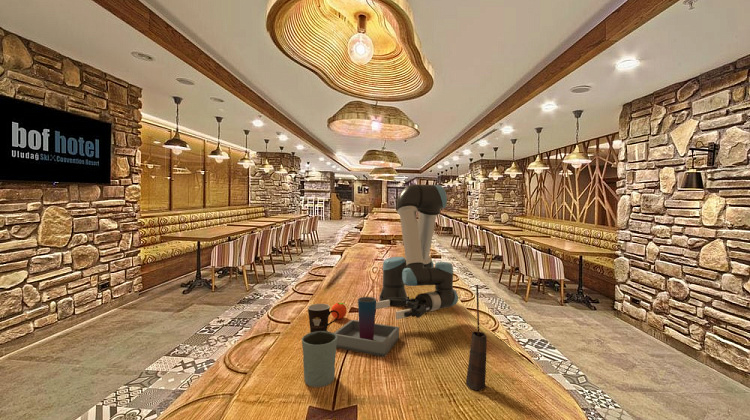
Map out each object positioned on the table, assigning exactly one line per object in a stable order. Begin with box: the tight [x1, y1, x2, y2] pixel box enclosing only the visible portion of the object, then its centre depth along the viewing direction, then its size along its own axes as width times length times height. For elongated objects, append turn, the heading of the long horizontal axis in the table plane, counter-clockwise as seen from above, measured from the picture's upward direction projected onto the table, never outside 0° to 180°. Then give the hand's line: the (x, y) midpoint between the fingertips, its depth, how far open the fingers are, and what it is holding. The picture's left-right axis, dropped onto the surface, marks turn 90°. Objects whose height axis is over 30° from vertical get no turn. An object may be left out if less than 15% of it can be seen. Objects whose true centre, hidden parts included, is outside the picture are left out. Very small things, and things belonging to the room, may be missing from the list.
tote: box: [333, 319, 400, 358], centre depth 115 cm, size 16×20×4 cm
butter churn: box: [465, 284, 488, 391], centre depth 86 cm, size 9×10×28 cm
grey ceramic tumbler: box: [301, 330, 337, 388], centre depth 90 cm, size 10×10×12 cm
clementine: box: [330, 302, 349, 320], centre depth 140 cm, size 8×7×7 cm
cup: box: [357, 296, 377, 340], centre depth 115 cm, size 7×7×15 cm
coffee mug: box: [307, 303, 339, 333], centre depth 123 cm, size 12×9×10 cm
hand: (385, 310), depth 119 cm, fingers open, 13 cm apart
